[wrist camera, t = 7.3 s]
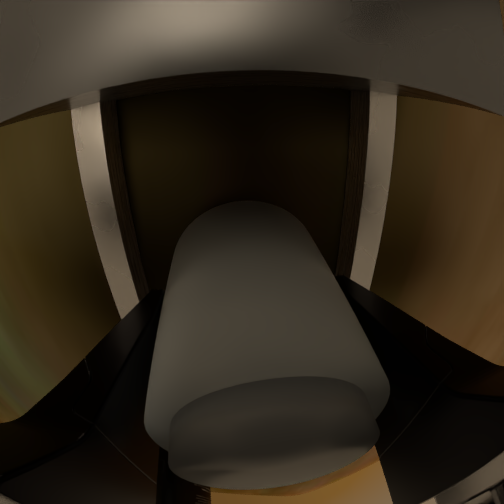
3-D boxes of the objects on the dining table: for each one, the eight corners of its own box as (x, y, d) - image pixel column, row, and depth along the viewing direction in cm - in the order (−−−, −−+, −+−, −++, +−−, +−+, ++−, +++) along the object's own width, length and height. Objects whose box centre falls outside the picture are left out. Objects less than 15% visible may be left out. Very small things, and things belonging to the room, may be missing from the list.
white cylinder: (321, 197, 9) (449, 365, 3) (309, 315, 12) (362, 472, 6) (162, 207, 9) (90, 408, 3) (184, 326, 11) (176, 495, 6)
